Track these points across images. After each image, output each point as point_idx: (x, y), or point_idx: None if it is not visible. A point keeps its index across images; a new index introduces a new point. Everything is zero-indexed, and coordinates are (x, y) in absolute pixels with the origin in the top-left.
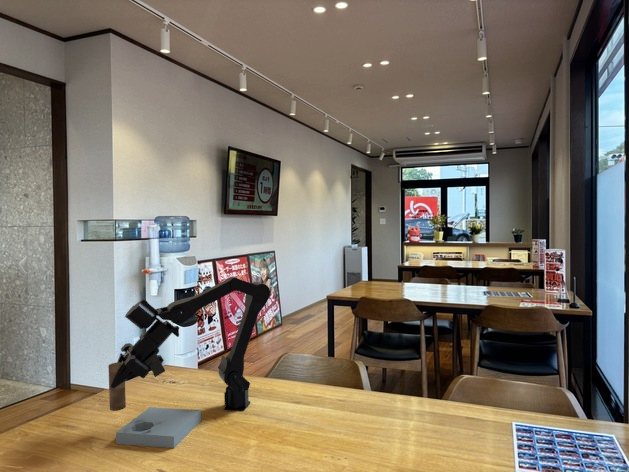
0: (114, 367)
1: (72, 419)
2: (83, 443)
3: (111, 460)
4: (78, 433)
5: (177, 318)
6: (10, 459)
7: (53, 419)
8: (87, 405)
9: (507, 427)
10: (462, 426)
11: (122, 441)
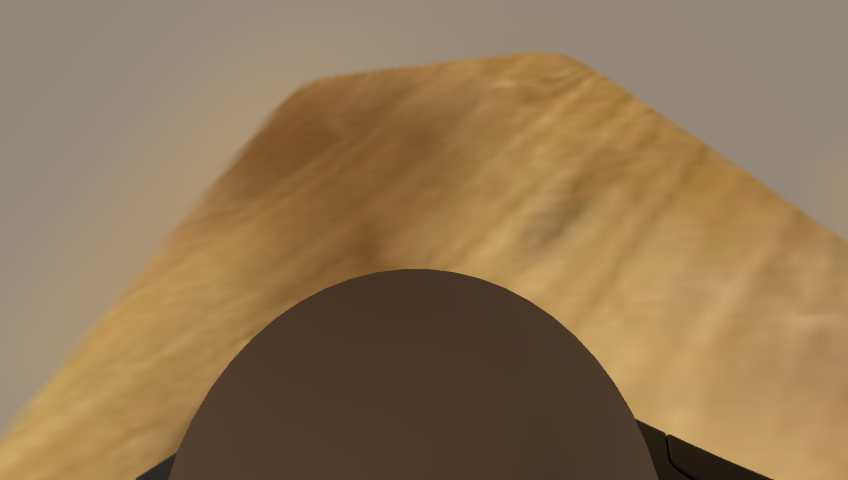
0: (193, 439)
1: (636, 225)
2: None
3: (79, 420)
4: (467, 259)
5: None
6: (345, 83)
7: (653, 159)
8: (803, 274)
9: None
10: None
11: None
